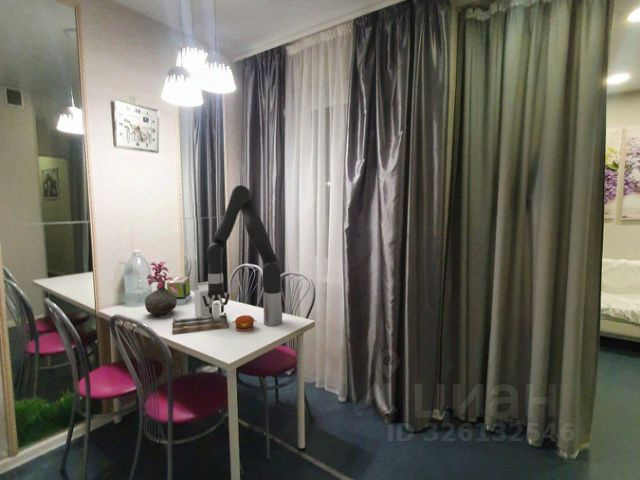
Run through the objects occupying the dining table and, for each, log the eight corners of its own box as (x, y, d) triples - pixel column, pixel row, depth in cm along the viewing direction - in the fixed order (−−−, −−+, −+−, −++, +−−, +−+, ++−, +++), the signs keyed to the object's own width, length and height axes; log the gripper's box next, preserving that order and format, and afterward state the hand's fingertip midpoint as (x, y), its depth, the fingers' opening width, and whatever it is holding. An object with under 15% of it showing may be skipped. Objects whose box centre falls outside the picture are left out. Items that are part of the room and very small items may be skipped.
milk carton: (212, 315, 187) (212, 282, 185) (201, 318, 182) (200, 284, 180) (206, 312, 192) (205, 280, 190) (194, 315, 187) (194, 282, 185)
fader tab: (219, 318, 176) (218, 301, 175) (219, 321, 172) (219, 304, 171) (213, 319, 175) (213, 302, 174) (213, 322, 171) (213, 304, 170)
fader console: (225, 318, 182) (225, 310, 181) (227, 327, 169) (227, 319, 168) (174, 324, 173) (173, 315, 172) (172, 334, 160) (171, 325, 159)
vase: (148, 311, 193) (146, 260, 190) (180, 308, 198) (178, 259, 195) (142, 320, 177) (140, 265, 174) (177, 317, 183) (175, 264, 179)
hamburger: (231, 329, 166) (231, 317, 165) (244, 324, 174) (244, 312, 173) (244, 333, 161) (244, 320, 160) (258, 327, 169) (258, 315, 169)
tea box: (175, 298, 219) (174, 276, 217) (191, 298, 220) (190, 276, 218) (167, 305, 204) (166, 282, 202) (184, 305, 205) (183, 281, 204)
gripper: (229, 278, 177) (229, 309, 179) (201, 280, 172) (201, 312, 174) (230, 282, 170) (231, 314, 172) (201, 284, 165) (202, 317, 167)
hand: (216, 313), depth 173 cm, fingers open, 4 cm apart
